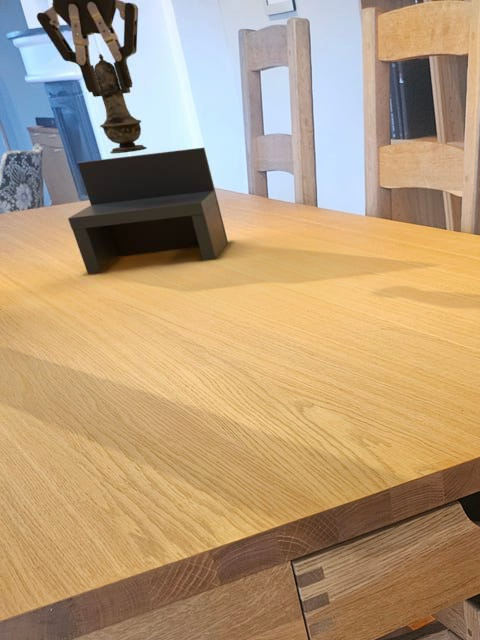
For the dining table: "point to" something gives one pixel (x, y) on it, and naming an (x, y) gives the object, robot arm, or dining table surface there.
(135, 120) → the salt shaker
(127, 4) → the robot arm
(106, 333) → the dining table surface
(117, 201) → the bench
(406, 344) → the dining table surface
